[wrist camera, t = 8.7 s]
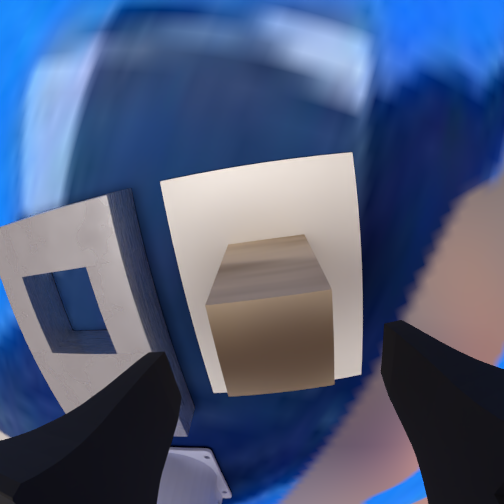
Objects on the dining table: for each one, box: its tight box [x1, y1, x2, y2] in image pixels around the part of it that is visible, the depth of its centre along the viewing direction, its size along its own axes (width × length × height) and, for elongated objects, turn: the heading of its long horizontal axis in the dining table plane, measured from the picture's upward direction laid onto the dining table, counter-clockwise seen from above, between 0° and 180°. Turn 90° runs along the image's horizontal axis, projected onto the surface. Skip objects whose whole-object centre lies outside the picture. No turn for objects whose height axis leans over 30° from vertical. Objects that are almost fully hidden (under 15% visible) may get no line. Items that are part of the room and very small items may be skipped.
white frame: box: [0, 188, 195, 437], centre depth 18 cm, size 16×10×3 cm, turn 9°
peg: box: [205, 234, 334, 397], centre depth 14 cm, size 4×4×7 cm
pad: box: [160, 152, 363, 393], centre depth 17 cm, size 14×10×1 cm
